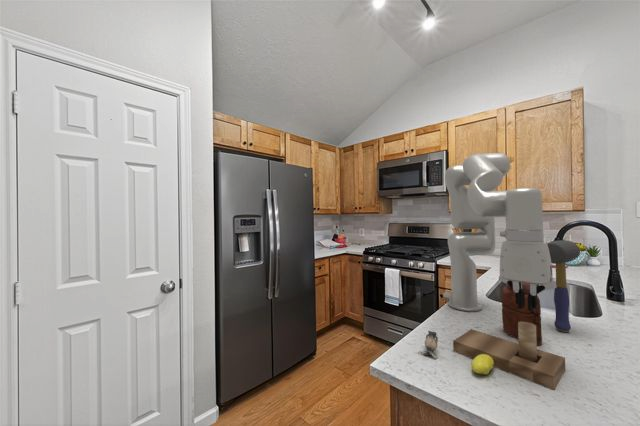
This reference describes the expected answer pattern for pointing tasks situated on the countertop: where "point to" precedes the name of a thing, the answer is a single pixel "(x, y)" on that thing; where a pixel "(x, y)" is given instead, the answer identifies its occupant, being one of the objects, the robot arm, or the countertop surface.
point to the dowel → (527, 341)
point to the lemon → (482, 364)
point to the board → (512, 357)
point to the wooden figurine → (519, 312)
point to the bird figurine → (430, 344)
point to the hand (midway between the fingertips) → (526, 308)
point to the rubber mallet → (562, 279)
